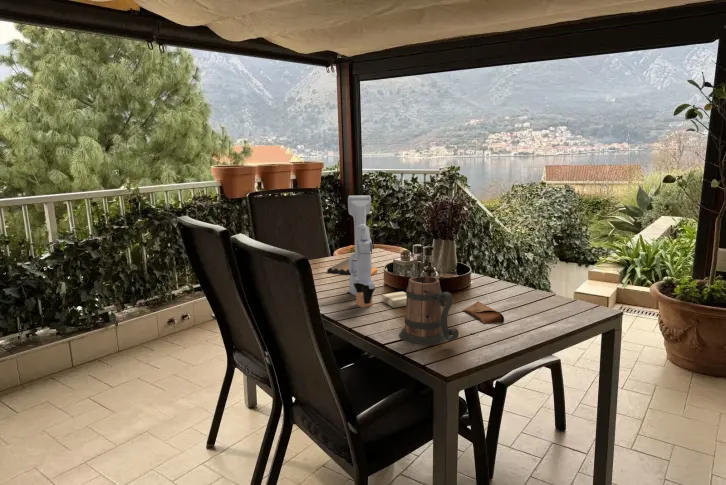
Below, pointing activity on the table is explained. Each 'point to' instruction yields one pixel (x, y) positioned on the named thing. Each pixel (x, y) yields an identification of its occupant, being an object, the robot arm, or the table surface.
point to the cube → (362, 300)
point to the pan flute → (345, 268)
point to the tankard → (427, 313)
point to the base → (395, 299)
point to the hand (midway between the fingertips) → (364, 301)
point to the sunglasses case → (484, 313)
